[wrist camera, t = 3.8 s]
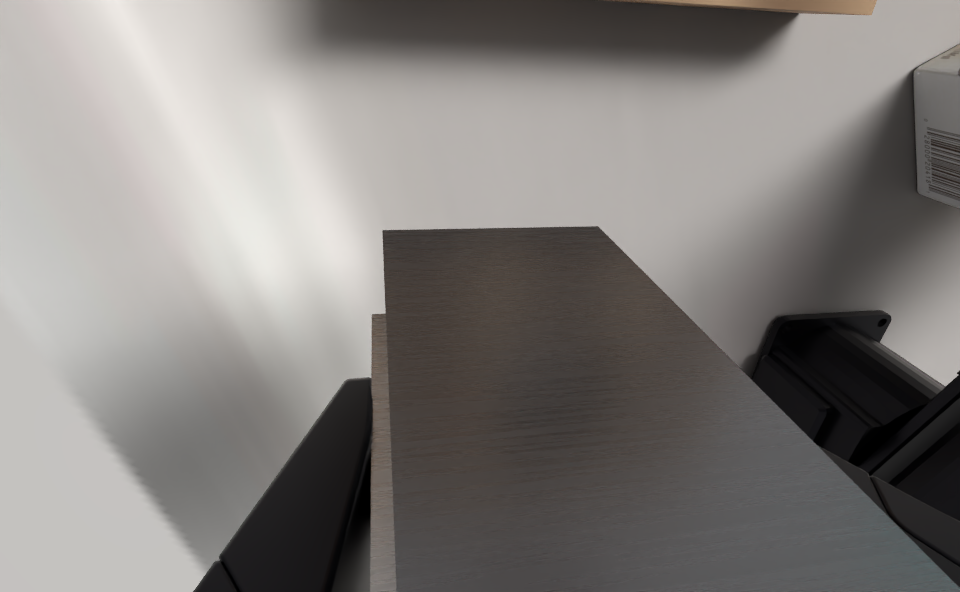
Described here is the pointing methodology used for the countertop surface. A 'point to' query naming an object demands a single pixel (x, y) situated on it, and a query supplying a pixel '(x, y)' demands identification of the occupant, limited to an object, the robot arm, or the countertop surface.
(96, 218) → the countertop surface
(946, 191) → the coffee box
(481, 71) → the countertop surface
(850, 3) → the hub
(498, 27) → the countertop surface
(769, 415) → the peg
